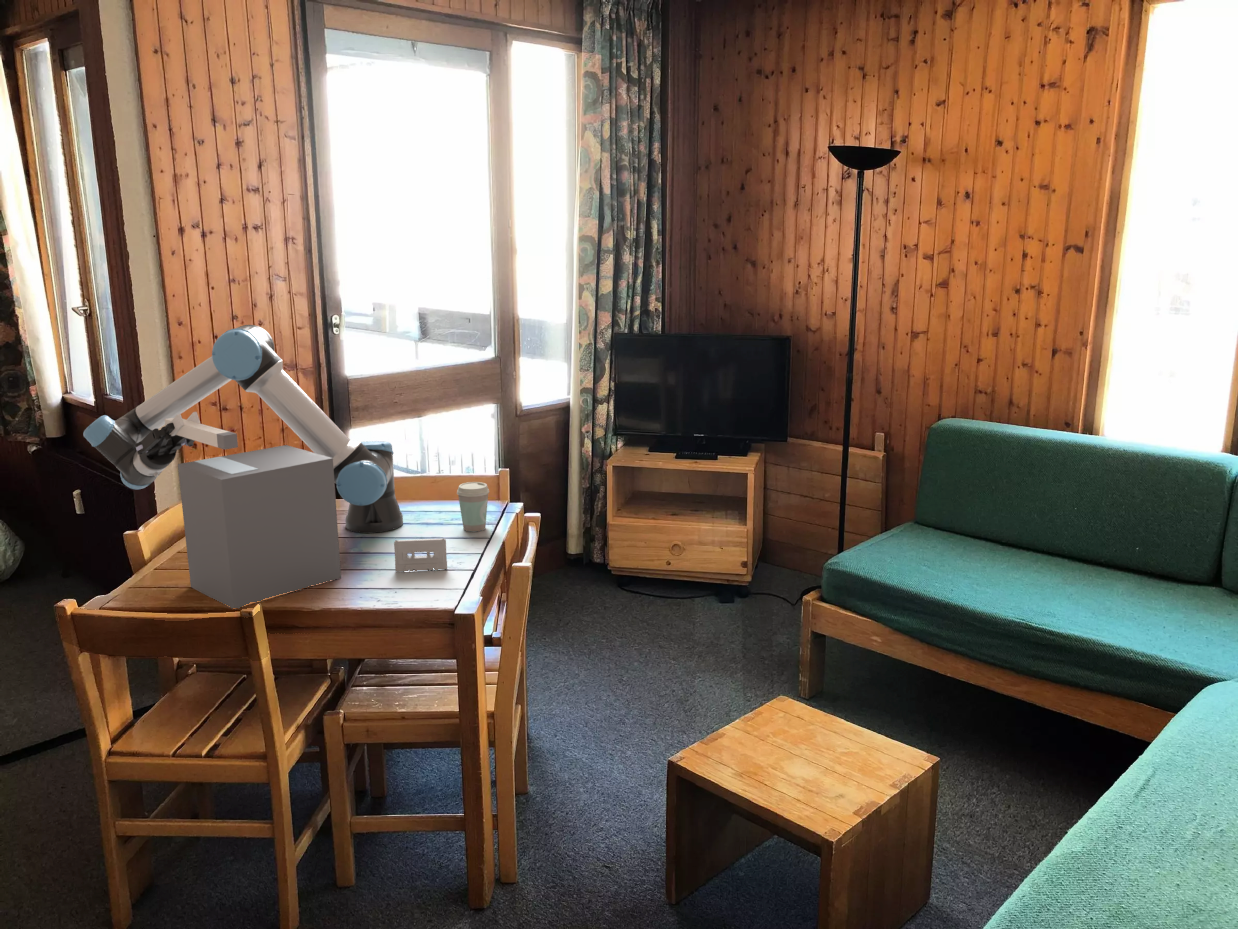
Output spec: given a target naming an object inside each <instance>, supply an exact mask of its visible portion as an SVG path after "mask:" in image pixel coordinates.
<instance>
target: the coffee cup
mask: <svg viewBox="0 0 1238 929" xmlns="http://www.w3.org/2000/svg"><path fill="white" fill-rule="evenodd" d="M489 493H490V489H489V486H488V484H487V483H485V482H482V481H481V482H480V481H468V482H463V483H461V484H459V485H458V489H457V491H456V495H458V502H459V508H460V509H459V510H460V514H461V515H460V516H461V521H462V528H463V529H462V530H463V531H465V530H466V531H465V532H468V531H478V532H481V531H480V530H482V531H484V530H486V528H487V527H486V524H487V513H488V498H489ZM483 529H484V530H483Z"/></svg>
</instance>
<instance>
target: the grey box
mask: <svg viewBox="0 0 1238 929" xmlns="http://www.w3.org/2000/svg"><path fill="white" fill-rule="evenodd" d="M177 471H178V481H179V488H180V498H181V506H182V507H181V508H182V518H183V527H184V536H185V544H186V545H185V546H186V554H187V555H186V556H187V564H188V573H189V574H188V575H189V581H190V582H189V584H190V588H192V589H193V590H196V591H198V592H200V593H201V594H203V595H205V596H207V597H209V598H211V599H212V598H213V600H214V599H215V600H214V601H216V600H217V602H218V601H219V602H218V603H220V602H222V603H223V604H222V603H221V604H222V605H224V604H226V605H228V606H230V607H231V608H230V607H229V608H230V609H232V608H238V609H241V608H240V607H242V606H244V605H246V604H249V603H250V602H257V601H261V600H263V599H265V598H269V597H272V596H276V595H279V594H283V593H287V592H290V591H295V590H298V589H302V588H306V587H308V586H311V585H316V584H319V583H323V582H326V581H330V580H334V581H336V580H335V579H337V580H340V579H339V578H341V579H342V570H341V557H340V541H339V529H338V528H339V526H338V514H337V501H336V499H337V498H336V487H335V484H336V483H335V482H334V468H333V458H330V457H327V456H323V455H320V454H316V453H314V452H313V451H309V450H305V449H302V448H298V447H295V446H291V445H287V444H285V445H279V446H273V447H268V448H262V449H256V450H255V449H254V450H251V451H245V452H239V453H234V454H228V455H227V454H226V455H223V456H215V457H210V458H205V459H200V460H199V459H198V460H194V461H188V462H183V463H177ZM330 582H331V581H330ZM226 605H225V606H226ZM228 606H227V607H228ZM242 608H243V607H242Z"/></svg>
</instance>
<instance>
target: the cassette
mask: <svg viewBox="0 0 1238 929" xmlns="http://www.w3.org/2000/svg"><path fill="white" fill-rule="evenodd" d="M393 545H394V546H393V547H394V549H393V550H394V567H395V568H394V570H395V572H396V571H408V570H410V571H413V570H415V571H417V570H433V568H434V569H435V570H438V569H447V570H448V558H447V556H448V555H447V540H446V538H425V539H424V538H422V539H403V540H402V539H401V540H399V539H398V540H394V541H393ZM415 553H426V555H415ZM430 553H433V554H430ZM409 554H411V555H409Z"/></svg>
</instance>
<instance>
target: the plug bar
mask: <svg viewBox="0 0 1238 929" xmlns="http://www.w3.org/2000/svg"><path fill="white" fill-rule="evenodd" d="M173 419H174V418H168V419H165V425H164V426H166V425H167V424H168V423H170V422H171V421H172V420H173ZM182 419H183V422H184V426H183V427H182V428H181V429H180V430H179V431H178V432H177V433H176V435H178V436H182V437H185V438H188V439H191V440H195V441H194V442H197V443H202V444H205V445H209V446H211V447H215V448H218V449H221V450H230V449H236V448H237V449H238V448H239V442H238V433H235V432H232V431H230V430H229V431H228V430H226V429H225V430H224V429H221V428H219V427H218V428H217V427H214V426H211V425H206V424H203V423H201V422H200V423H196V422H193V421H189V420H187V419H185V418H182Z"/></svg>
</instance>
